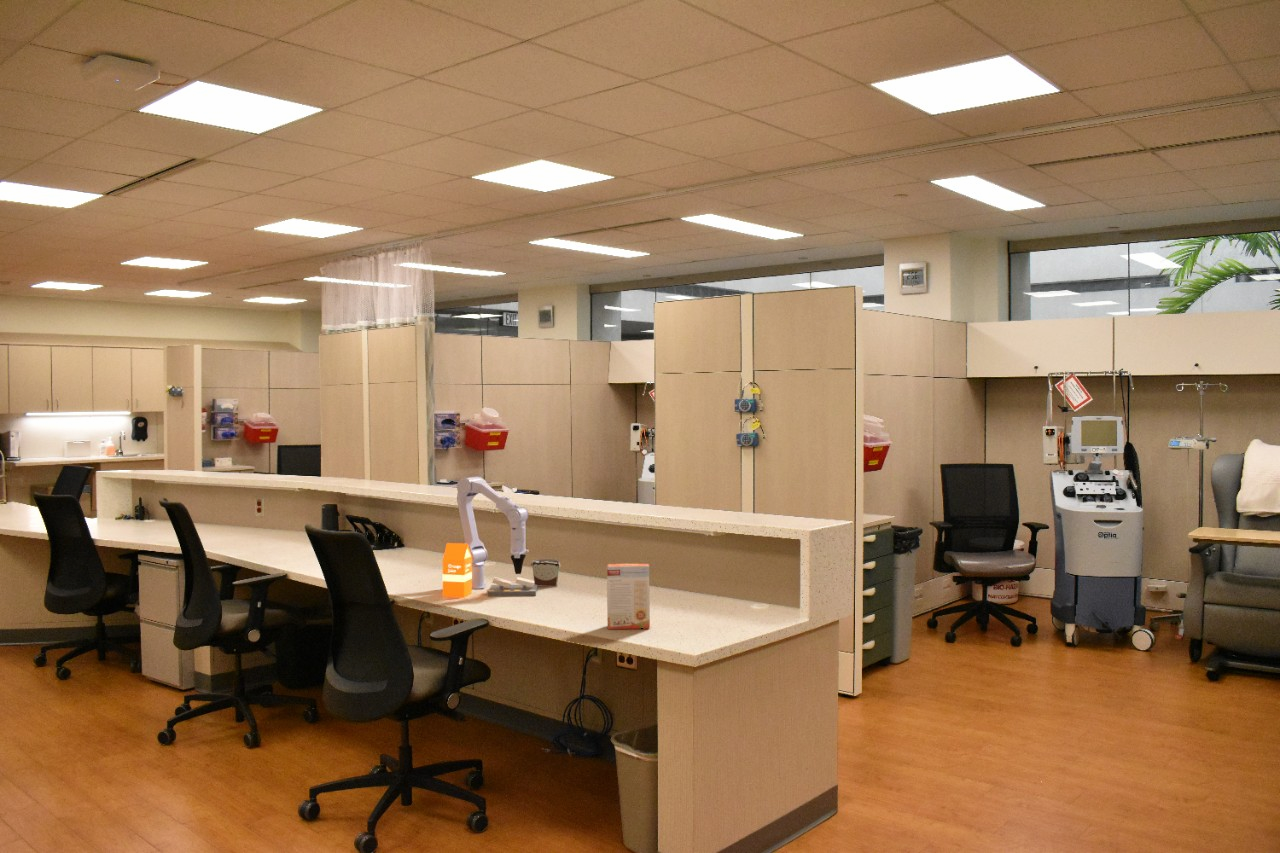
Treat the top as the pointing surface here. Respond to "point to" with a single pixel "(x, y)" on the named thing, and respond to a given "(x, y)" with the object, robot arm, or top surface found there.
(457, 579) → the orange juice
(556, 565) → the food container
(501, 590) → the switch board
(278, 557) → the top surface
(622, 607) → the cracker box
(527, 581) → the plate
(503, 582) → the rocker
